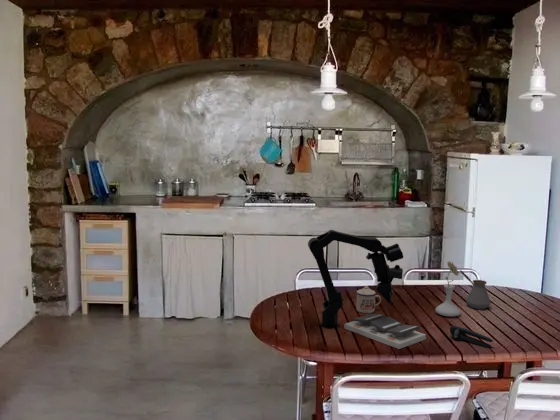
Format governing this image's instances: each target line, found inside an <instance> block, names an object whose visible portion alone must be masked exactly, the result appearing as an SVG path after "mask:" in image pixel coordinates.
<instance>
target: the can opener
mask: <svg viewBox="0 0 560 420" xmlns="http://www.w3.org/2000/svg"><path fill="white" fill-rule="evenodd" d="M449 333H450V336H451V337H452V338H453V339H454V340H456V341H463V340H465V341H469V342H472V343H474V344H476V345H478V346H480V345H481V347H483V346H485V347H484V348H487V347H491V348H492V345H491V344H489V343H493V342H494V340H493V339H492V338H490V337H488V336H485V335H484V334H482V333H479V332H477V331H474V330H472V329H471V330H470V329H468V327H462V326H461V327H460V326H456V325H451V326H450V328H449ZM482 340H483V341H482ZM485 341H486V342H485Z"/></svg>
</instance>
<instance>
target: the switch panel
mask: <svg viewBox="0 0 560 420" xmlns="http://www.w3.org/2000/svg"><path fill="white" fill-rule="evenodd" d="M377 320H378V319H377ZM374 321H375V320H374ZM370 322H371V321H370ZM370 322H367V323H365V322H357V321H354V320H353V321H350V322H346V323H344V326H343V327H344V329H345V330H348V331H350V332H353V333H355V334H358V335H361V336H363V337H366V338H368V339H371V340H374V341H377V342H379V343H381V344H384V345H388V347H389V346H390V347H393V348H395V349H397V350H400V349H403V348H405V347H409V346H412V345H415V344H417V343H419V342H423V341H425V340H427V334H425V333H424V332H423V333H422V332H419V331H417V330H414V331H411V332H409V333H406V334H403V335H397V334H390V333H387V330H386V331H381V330H379V329H378V328H376V327H374V326H372V325H371V324H370ZM398 327H399V326H398ZM395 328H396V327H395ZM392 329H393V328H392ZM389 330H390V329H389Z"/></svg>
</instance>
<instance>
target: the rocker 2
mask: <svg viewBox="0 0 560 420" xmlns="http://www.w3.org/2000/svg"><path fill="white" fill-rule="evenodd" d="M370 324H371V325H372V326H374V327H376V328H378V329H379V330H381V331H386V330H389V329H392V328H395V327H398V326H402V325H403V324H402V322H400V321H398V320H396V319H394V318H393V317H390V316H385V317H384V318H380V319H378V320H375V321H371V322H370Z"/></svg>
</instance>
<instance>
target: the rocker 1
mask: <svg viewBox="0 0 560 420" xmlns="http://www.w3.org/2000/svg"><path fill="white" fill-rule="evenodd" d="M385 317H386V315H385V314H380V313H368V314H365V315H362V316H359V317H355V318H353V321H357V322H365V323H367V322H370V321H374V320H377V319H381V318H385Z"/></svg>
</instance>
